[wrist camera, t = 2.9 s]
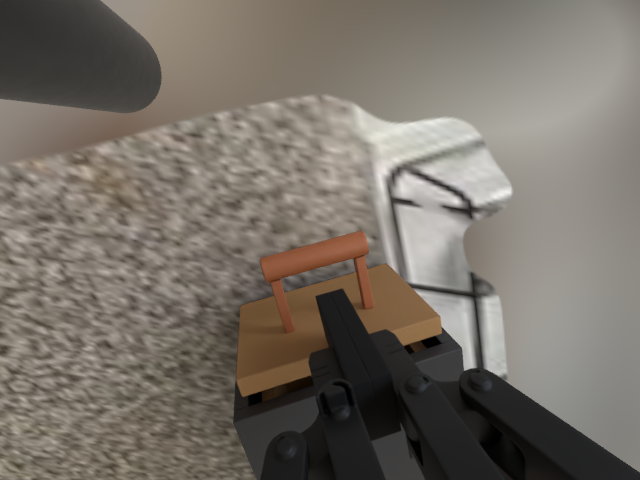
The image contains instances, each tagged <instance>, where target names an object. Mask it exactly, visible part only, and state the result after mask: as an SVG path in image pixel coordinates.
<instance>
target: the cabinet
mask: <svg viewBox="0 0 640 480" xmlns="http://www.w3.org/2000/svg"><path fill="white" fill-rule="evenodd" d="M441 328H442V327H441ZM238 337H239V334H238ZM420 341H421V342H422V343H423V345H424V346H425V347H426V348H427V349H424V350H421V351H418V352H415V353H412V354H409V355H410V356H411V358H412V359H413V361H414V362H415V363H416V365H417V366H418V368H419V369H420V371H421V372H422V373H424V374H427V375H429V376H430V377H431V378H432V379H433V380H437V381H459V378H460V375H461V374H462V373H463V372H464V368H463V355H462V348H461V346H460V345H459V344H458V343H457V342H456V341H455V340H454V339H453V338H452V337H451V336H450V335H449V334H448V333H447V332H446V331H445V330H444V329H443V328H442V333H441V334H439V335H436V336H433V337H430V338H426V339H423V340H420ZM237 353H238V351H237ZM236 370H237V367H236ZM318 413H319V409H318V406H317V402H316V393H315V388H314V385H313V386H310V387H307V388H304V389H300V390H297V391H294V392H291V393H288V394H285V395H282V396H279V397H276V398H273V399H270V400H266V401H263V402H262V391H261V392H257V393H254V394H251V395H248V396H245V397H242V395H241V393H240V390H239V387H238V385H237V382H236V384H235V401H234V420H233V423H234V426H235V428H236V431H237V433H238V435H239V438H240V440H241V443H242V445H243V447H244V450H245V452H246V455H247V457H248V459H249V462H250V464H251V467H252V469H253V471H254V474H255V476H256V479H257V480H260V478H261V473H262V468H263V463H264V458H265V453H266V450H267V447H268V445H269V443H270V442H271V441H272V439H273V438H274V437H276V436H277V435H279V434H280V433H282V432H285V431H296V432H298V433H302V432H303V431H305V430H306V429H307V428H309V427H310V426H311V425H312V424H313V423H314V422H315V420H316V418H317V416H318ZM400 425H401V423H400ZM371 442H372V444H373V447H374V450H375V452H376V455H377V457H378V460H379V463H380V465H381V468H382V470H383V473H384V476H385V478H386V480H425V478H424V476H423V474H422V472H421V470H420V468H419V466H418V464H417V462H416V460H415V458H414V456H413V459H410V456H409V451H408V445H407V440H406V434H405V431H404V429H403V427H402V425H401V431H399V432H397V433H394V434H391V435H388V436H385V437H382V438H379V439H376V440H373V441H371Z"/></svg>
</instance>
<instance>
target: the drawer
mask: <svg viewBox="0 0 640 480" xmlns="http://www.w3.org/2000/svg"><path fill="white" fill-rule="evenodd" d="M368 252H369V247H368V242H367V239H366V236H365V234H364V233H363V231H358V232H354V233H350V234H347V235H343V236H339V237H336V238H332V239H328V240H325V241H321V242H317V243H314V244H310V245H306V246H303V247H299V248H296V249H292V250H288V251H285V252H281V253H277V254H274V255H270V256H266V257H263V258H260V264H261V268H262V272H263V276H264V279H265V281H266V282H270V284H271V287H272V291H273V294H274V296H271V297H268V298H265V299H261V300H258V301H254V302H251V303H247V304H244V305H241V306H240V320H239V337H238V353H237V370H236V382H237V385H238V387H239V390H240V393H241V395H242V397H245V396H248V395H251V394H254V393H257V392H261V391H262V402H263V401H266V400H270V399H273V398H276V397H279V396H282V395H285V394H288V393H291V392H294V391H297V390H300V389H304V388H307V387H310V386H313V385H314V384H313V380H312V376H311V372H310V368H309V363H308V361H309V357H310V354H311V353H312V352H315V351H318V350H322V349H325V348H328V347H329V346H328V343H327V340H326V337H325V333H324V329H323V325H322V321H321V317H320V313H319V309H318V305H317V301H316V297H315V296H317V295H321V294H324V293H327V292H331V291H334V290H338V289H341V288H343V289H344V291H345V293H346V295H347V296H348V298H349V300H350V302H351V303H352V305H353V307H354V309H355V310H356V312H357V314H358V316H359V317H360V319H361V321H362V323H363V324H364V326H365V328H366V330H367V331H368V333H369V334H371V333H374V332H377V331H381V330H384V329H387V330H389V331H391V332H392V333H394V334H395V335H396V336H397V338H398V339H399V341H400V343H402V345H403V346H404V348H405V349H406V351H407V352H408V353H409V354H412V353H415V352H418V351H421V350H424V349H427V348H426V347H425V346H424V345H423V343H422V342H421V341H420V340H423V339H426V338H430V337H433V336H436V335H439V334H441V333H442V328H441V318H440V316H439V315H438V314H437V313H436V312H435V311H434V310H433V309H432V308H431V307H430V306H429V305H428V304H427V303H426V302H425V301H424V300H423V299H422V298H421V297H420V296H419V295H418V294H417V293H416V292H415V291H414V290H413V289H412V288H411V287H410V286H409V285H408V284H407V283H406V282H405V281H404V280H403V279H402V278H401V277H400V276H399V275H398V274H397V273H396V272H395V271H394V270H393V269H392V268H391V267H390V266H389V265H388V264H382V265H379V266H376V267H372V268H369V269H367V265H366V259H365V256H364V255H366V254H368ZM352 258H353V260H354V265H355V270H356V272H355V273H351V274H348V275H344V276H341V277H337V278H334V279H330V280H327V281H324V282H320V283H317V284H313V285H310V286H306V287H303V288H299V289H296V290H292V291H289V292H284V289H283V285H282V282H281V278H284V277H288V276H292V275H295V274H299V273H302V272H306V271H309V270H313V269H316V268H320V267H323V266H327V265H330V264H334V263H337V262H341V261H345V260H348V259H352Z"/></svg>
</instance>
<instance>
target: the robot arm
mask: <svg viewBox="0 0 640 480" xmlns="http://www.w3.org/2000/svg"><path fill="white" fill-rule="evenodd" d="M315 297H316V301H317V305H318V309H319V313H320V317H321V321H322V325H323V329H324V333H325V337H326V340H327V343H328V346H329V347H328V348H325V349H322V350H318V351H315V352H312V353H311V354H310V357H309V361H308V363H309V368H310V372H311V376H312V380H313V384H314V388H315V393H316V402H317V406H318V409H319V413H318V416H317V418H316V420H315V422H314V423H313V424H312V425H311V426H310V427H309V428H307V429H306V430H305V431H303V432H302V433H298V432H296V431H285V432H282V433H280V434H279V435H277V436H276V437H274V438H273V439H272V441H271V442H270V443H269V445H268V447H267V450H266V453H265V458H264V463H263V468H262V473H261V478H260V480H386V478H385V476H384V473H383V470H382V468H381V465H380V463H379V460H378V457H377V455H376V452H375V450H374V447H373V444H372V442H371V441H373V440H376V439H379V438H382V437H385V436H388V435H391V434H394V433H397V432H399V431H401V425H402V427H403V429H404V431H405V434H406V440H407V445H408V451H409V456H410V459H413V456H414V458H415V460H416V462H417V464H418V466H419V468H420V470H421V472H422V474H423V476H424V478H425V480H640V473H639V472H638V471H637V470H635V469H633V468H632V467H631V466H629V465H628V464H626V463H625V462H623V461H622V460H620V459H619V458H617V457H616V456H614V455H613V454H612V453H610V452H608V451H607V450H606V449H604V448H603V447H601V446H600V445H598V444H597V443H595V442H594V441H592V440H591V439H589V438H588V437H586V436H585V435H583V434H582V433H581V432H579V431H577V430H576V429H575V428H573V427H571V426H570V425H569V424H567V423H566V422H564V421H563V420H561V419H560V418H559V417H557V416H555V415H554V414H552V413H551V412H550V411H548V410H547V409H545V408H544V407H542V406H541V405H539V404H538V403H536V402H535V401H533V400H532V399H531V398H529V397H528V396H526V395H525V394H523V393H522V392H520V391H519V390H517V389H515V388H514V387H513V386H511V385H510V384H508V383H507V382H505V381H504V380H503V379H501V378H500V377H498V376H497V375H495V374H494V373H492V372H490V371H488V370H484V369H480V368H474V369H469V370H466V371H464V372H463V373H462V374H461V375H460V378H459V381H437V380H433V379H432V378H431V377H430V376H429V375H427V374H424V373H422V372H421V371H420V369H419V368H418V366H417V365H416V363H415V362H414V361H413V359H412V358H411V356H410V355H409V353H408V352H407V351H406V349H405V348H404V346H403V345H402V343H400V341H399V339H398V338H397V336H396V335H395V334H394V333H392V332H391V331H389V330H387V329H384V330H381V331H377V332H374V333H371V334H369V333H368V331H367V330H366V328H365V326H364V324H363V323H362V321H361V319H360V317H359V316H358V314H357V312H356V310H355V309H354V307H353V305H352V303H351V302H350V300H349V298H348V296H347V295H346V293H345V291H344V289H343V288H341V289H338V290H334V291H331V292H327V293H324V294H321V295H317V296H315ZM400 423H401V425H400Z"/></svg>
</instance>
